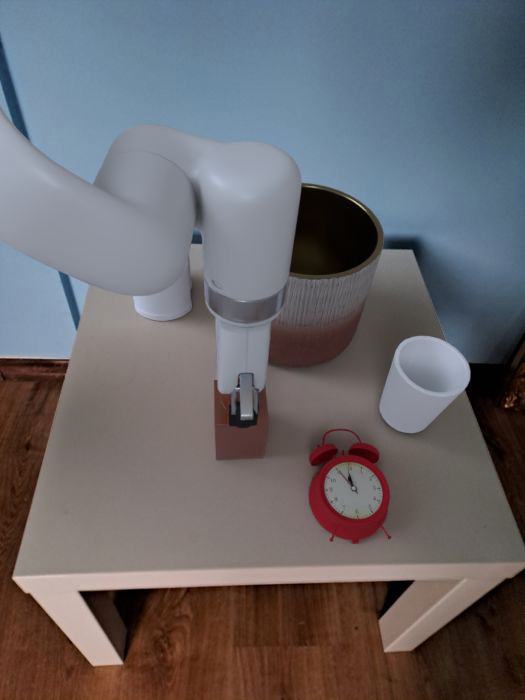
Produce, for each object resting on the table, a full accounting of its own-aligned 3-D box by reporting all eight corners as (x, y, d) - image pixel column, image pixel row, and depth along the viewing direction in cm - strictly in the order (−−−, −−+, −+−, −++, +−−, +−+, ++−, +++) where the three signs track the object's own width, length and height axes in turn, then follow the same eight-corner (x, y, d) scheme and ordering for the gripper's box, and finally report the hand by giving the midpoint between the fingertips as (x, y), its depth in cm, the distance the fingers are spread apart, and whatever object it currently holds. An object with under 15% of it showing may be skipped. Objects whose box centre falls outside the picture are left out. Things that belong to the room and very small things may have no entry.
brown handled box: (215, 460, 63) (213, 398, 50) (215, 405, 68) (212, 337, 56) (263, 458, 64) (272, 397, 51) (259, 404, 69) (266, 336, 56)
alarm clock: (319, 544, 53) (308, 419, 60) (310, 546, 59) (300, 432, 65) (406, 540, 54) (385, 417, 61) (389, 542, 60) (372, 430, 66)
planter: (227, 275, 85) (228, 178, 70) (344, 278, 87) (370, 183, 71) (226, 372, 72) (227, 278, 56) (364, 373, 74) (402, 282, 58)
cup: (378, 444, 66) (406, 397, 56) (363, 387, 72) (386, 335, 62) (444, 441, 67) (483, 394, 57) (424, 385, 73) (456, 334, 63)
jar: (139, 275, 84) (125, 204, 72) (191, 274, 85) (186, 204, 73) (134, 322, 77) (118, 252, 65) (192, 320, 78) (185, 251, 66)
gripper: (204, 226, 47) (209, 334, 60) (203, 363, 36) (209, 457, 50) (277, 226, 47) (266, 333, 61) (297, 361, 37) (278, 454, 50)
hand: (241, 389), depth 55 cm, fingers open, 9 cm apart
